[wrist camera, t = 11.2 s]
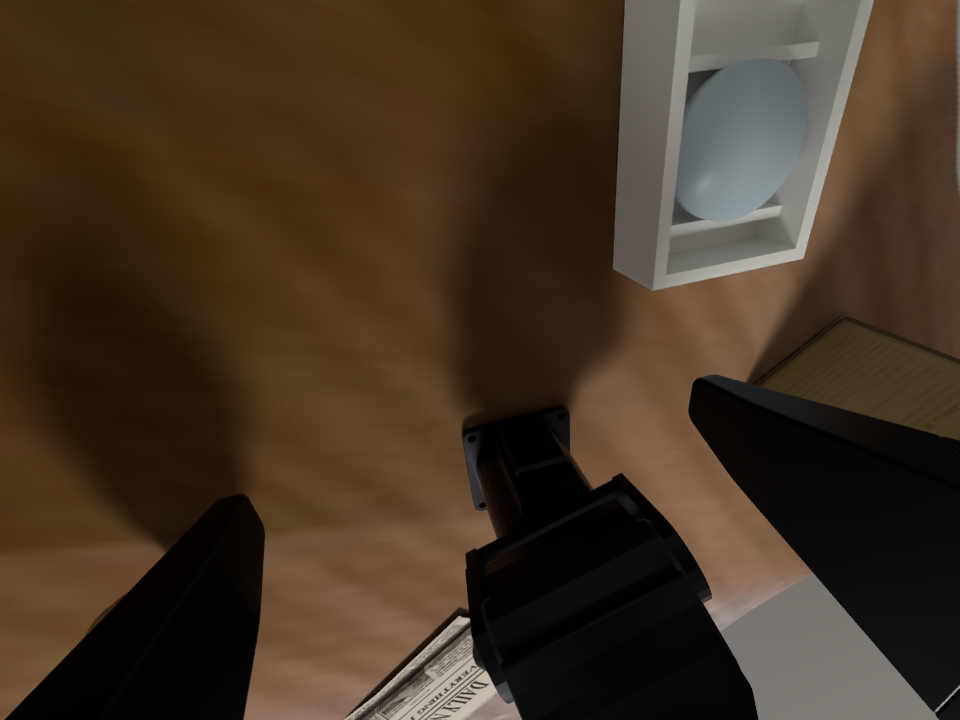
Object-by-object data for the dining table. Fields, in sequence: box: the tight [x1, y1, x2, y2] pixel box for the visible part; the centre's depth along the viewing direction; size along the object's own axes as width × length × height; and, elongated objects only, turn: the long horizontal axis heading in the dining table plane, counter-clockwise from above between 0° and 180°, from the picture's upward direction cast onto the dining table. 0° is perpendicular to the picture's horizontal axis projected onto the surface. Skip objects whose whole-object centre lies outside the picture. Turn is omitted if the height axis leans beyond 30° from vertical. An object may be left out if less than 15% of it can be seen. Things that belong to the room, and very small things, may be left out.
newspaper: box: [344, 615, 498, 720], centre depth 38 cm, size 23×12×2 cm, turn 135°
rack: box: [613, 0, 874, 291], centre depth 16 cm, size 19×8×4 cm, turn 7°
